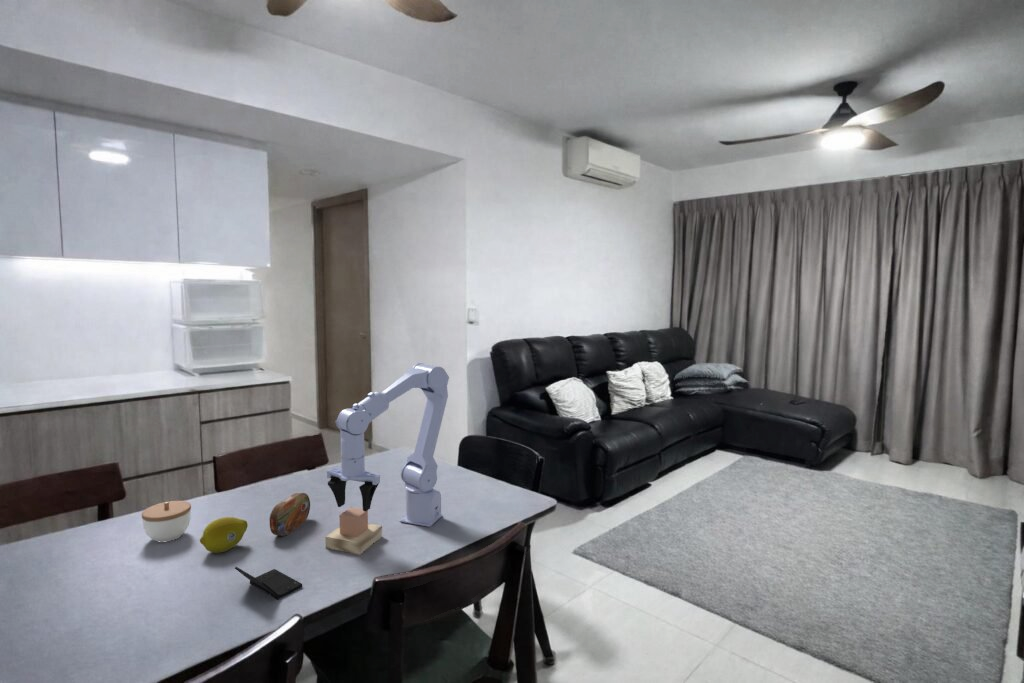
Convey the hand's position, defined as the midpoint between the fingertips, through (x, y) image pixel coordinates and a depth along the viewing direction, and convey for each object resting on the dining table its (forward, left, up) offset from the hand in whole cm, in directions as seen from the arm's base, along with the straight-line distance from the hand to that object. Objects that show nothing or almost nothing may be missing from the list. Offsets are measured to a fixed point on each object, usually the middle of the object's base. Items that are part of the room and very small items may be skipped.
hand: (353, 507), depth 135 cm
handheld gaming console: (+5, +24, -10) cm, 26 cm away
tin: (+21, -1, -10) cm, 23 cm away
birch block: (0, 0, -9) cm, 9 cm away
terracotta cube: (0, 0, -6) cm, 6 cm away
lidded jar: (+47, +14, -10) cm, 50 cm away
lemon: (+28, +14, -10) cm, 33 cm away
